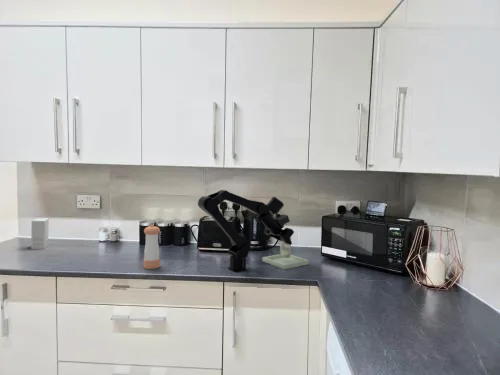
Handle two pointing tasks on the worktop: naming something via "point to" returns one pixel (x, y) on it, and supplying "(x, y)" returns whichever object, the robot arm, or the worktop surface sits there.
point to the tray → (285, 261)
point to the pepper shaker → (151, 248)
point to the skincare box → (39, 233)
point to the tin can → (285, 249)
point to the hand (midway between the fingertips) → (287, 242)
